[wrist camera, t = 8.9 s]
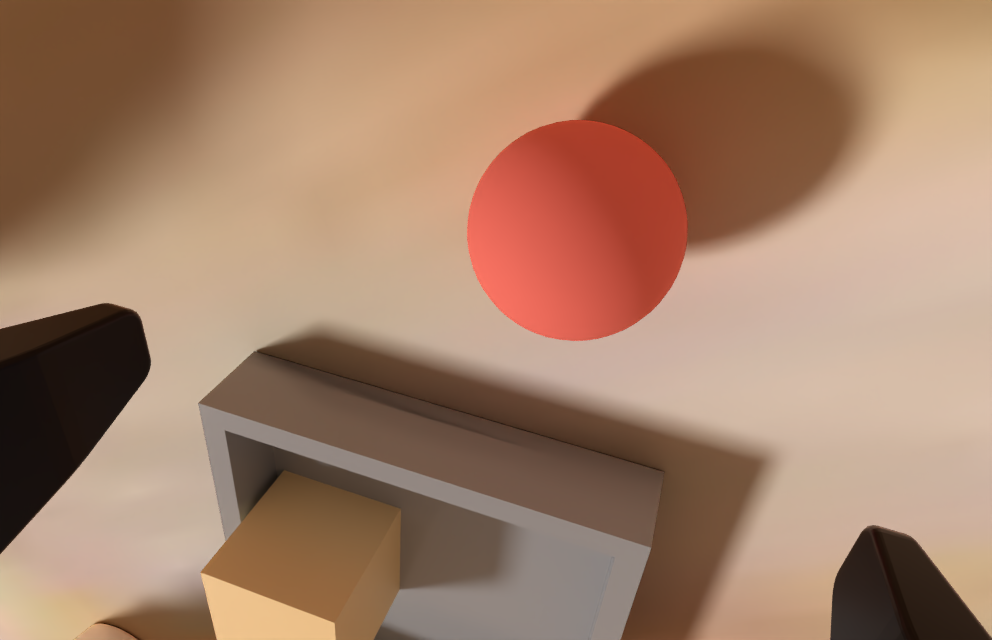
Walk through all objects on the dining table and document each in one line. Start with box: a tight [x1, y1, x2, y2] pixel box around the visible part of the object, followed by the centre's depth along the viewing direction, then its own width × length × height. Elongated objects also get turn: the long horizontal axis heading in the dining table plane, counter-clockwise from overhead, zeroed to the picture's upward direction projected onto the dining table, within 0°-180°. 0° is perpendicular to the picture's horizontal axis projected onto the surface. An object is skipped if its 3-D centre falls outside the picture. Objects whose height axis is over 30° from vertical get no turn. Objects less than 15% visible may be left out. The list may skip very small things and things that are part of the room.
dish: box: [198, 351, 664, 640], centre depth 21 cm, size 12×12×2 cm
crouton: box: [201, 470, 401, 640], centre depth 21 cm, size 4×4×4 cm
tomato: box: [467, 120, 688, 341], centre depth 13 cm, size 4×4×4 cm
